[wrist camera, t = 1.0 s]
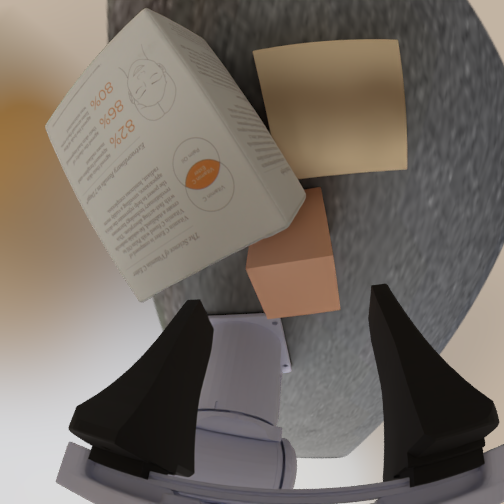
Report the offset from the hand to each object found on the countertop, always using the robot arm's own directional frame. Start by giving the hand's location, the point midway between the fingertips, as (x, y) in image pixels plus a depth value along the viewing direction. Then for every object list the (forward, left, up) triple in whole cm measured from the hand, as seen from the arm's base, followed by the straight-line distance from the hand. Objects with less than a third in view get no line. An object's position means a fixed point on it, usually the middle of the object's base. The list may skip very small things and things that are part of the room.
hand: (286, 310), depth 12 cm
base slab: (+6, -3, -8) cm, 11 cm away
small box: (+11, +7, -6) cm, 14 cm away
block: (-1, 0, -8) cm, 8 cm away
